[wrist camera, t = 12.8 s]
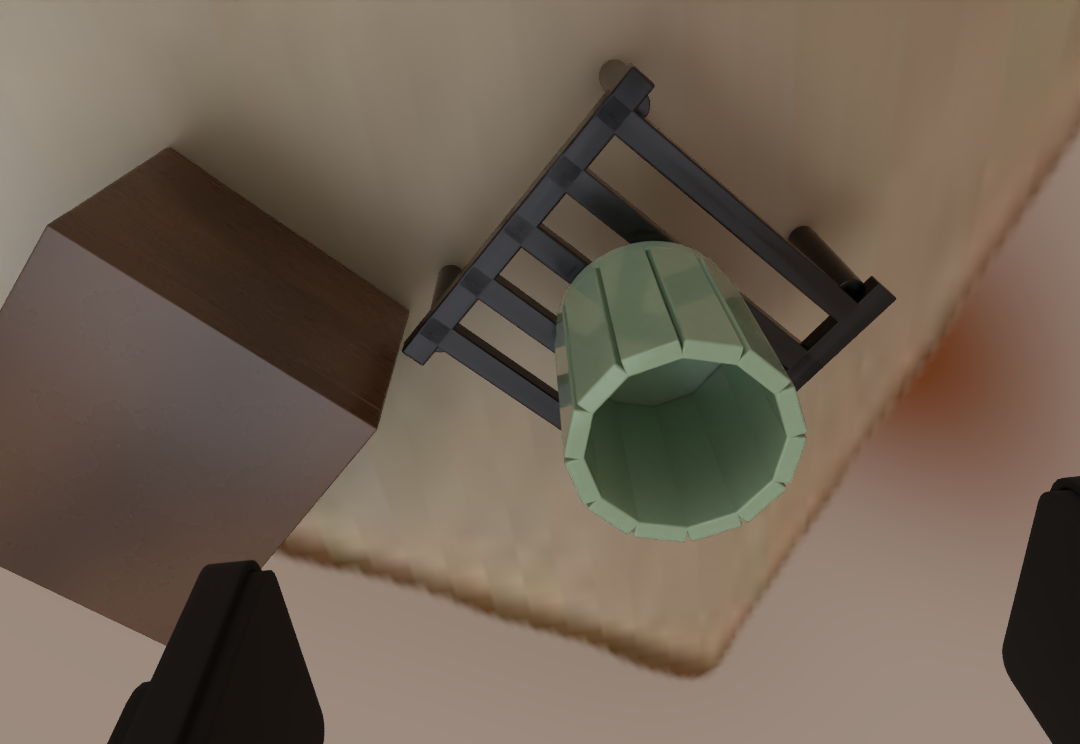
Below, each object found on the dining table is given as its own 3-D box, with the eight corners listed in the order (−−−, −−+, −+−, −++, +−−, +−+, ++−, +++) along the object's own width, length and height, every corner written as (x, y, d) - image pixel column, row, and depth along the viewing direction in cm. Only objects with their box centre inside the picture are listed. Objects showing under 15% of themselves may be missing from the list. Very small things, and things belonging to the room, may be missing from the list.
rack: (420, 280, 37) (400, 352, 31) (611, 37, 33) (633, 65, 26) (636, 431, 41) (656, 521, 35) (833, 235, 37) (897, 299, 31)
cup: (518, 341, 31) (518, 465, 24) (641, 201, 29) (680, 294, 22) (653, 436, 33) (689, 575, 26) (777, 313, 31) (854, 431, 24)
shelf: (29, 380, 39) (-112, 513, 30) (167, 145, 34) (46, 224, 25) (255, 506, 43) (187, 656, 34) (410, 311, 38) (377, 429, 29)
